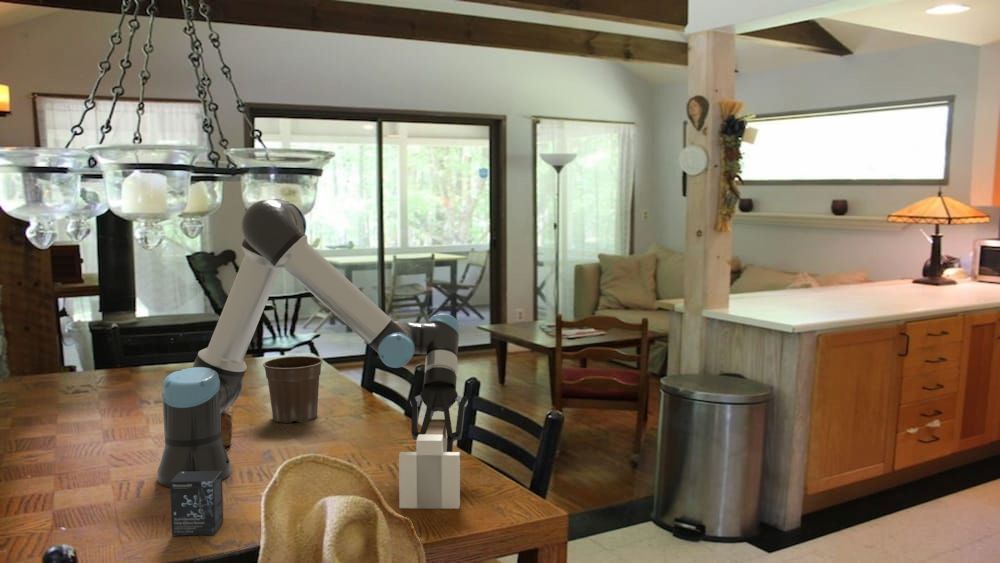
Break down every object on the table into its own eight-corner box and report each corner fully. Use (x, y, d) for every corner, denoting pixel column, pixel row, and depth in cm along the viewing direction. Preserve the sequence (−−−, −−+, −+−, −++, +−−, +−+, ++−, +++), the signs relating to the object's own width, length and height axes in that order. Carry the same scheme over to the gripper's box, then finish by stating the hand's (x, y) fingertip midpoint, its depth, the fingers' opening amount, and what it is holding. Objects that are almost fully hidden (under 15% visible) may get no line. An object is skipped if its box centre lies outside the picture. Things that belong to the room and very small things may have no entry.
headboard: (459, 508, 155) (459, 440, 153) (399, 508, 155) (398, 440, 153) (461, 493, 163) (461, 428, 161) (404, 493, 163) (404, 428, 161)
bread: (233, 447, 192) (231, 408, 191) (187, 451, 189) (185, 412, 188) (234, 426, 210) (233, 390, 209) (192, 430, 207) (191, 393, 206)
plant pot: (252, 422, 213) (250, 364, 212) (288, 407, 228) (286, 353, 227) (301, 428, 208) (299, 369, 206) (335, 413, 222) (334, 358, 221)
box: (171, 537, 141) (169, 481, 140) (182, 524, 147) (180, 470, 146) (215, 536, 142) (213, 480, 141) (224, 523, 147) (222, 469, 146)
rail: (440, 493, 159) (440, 442, 158) (422, 493, 159) (422, 441, 158) (446, 466, 175) (446, 419, 174) (430, 466, 175) (430, 419, 174)
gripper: (476, 382, 182) (473, 475, 168) (406, 382, 182) (397, 475, 168) (475, 365, 176) (472, 460, 162) (403, 365, 177) (393, 460, 162)
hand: (434, 467), depth 165 cm, fingers closed on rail, 3 cm apart
